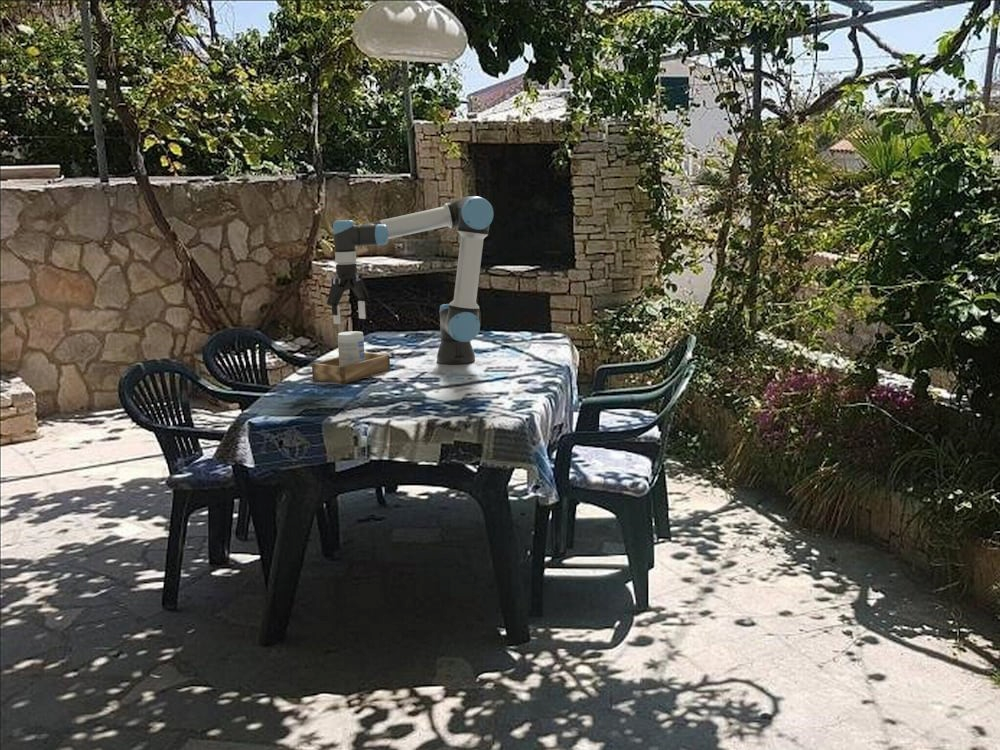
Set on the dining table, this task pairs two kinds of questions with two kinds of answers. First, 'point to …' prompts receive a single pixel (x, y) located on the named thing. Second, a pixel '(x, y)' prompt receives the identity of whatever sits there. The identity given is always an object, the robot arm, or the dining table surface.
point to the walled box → (350, 369)
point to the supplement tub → (350, 348)
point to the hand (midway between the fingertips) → (350, 321)
